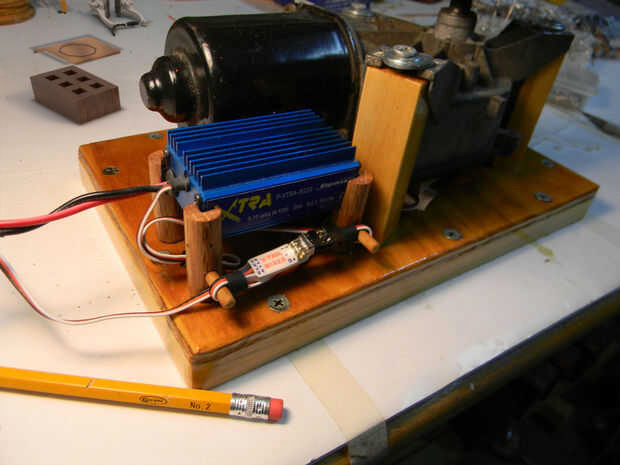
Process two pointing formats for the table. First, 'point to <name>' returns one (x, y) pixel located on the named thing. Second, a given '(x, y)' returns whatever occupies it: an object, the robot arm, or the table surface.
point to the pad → (80, 50)
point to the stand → (76, 94)
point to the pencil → (63, 6)
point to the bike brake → (104, 9)
